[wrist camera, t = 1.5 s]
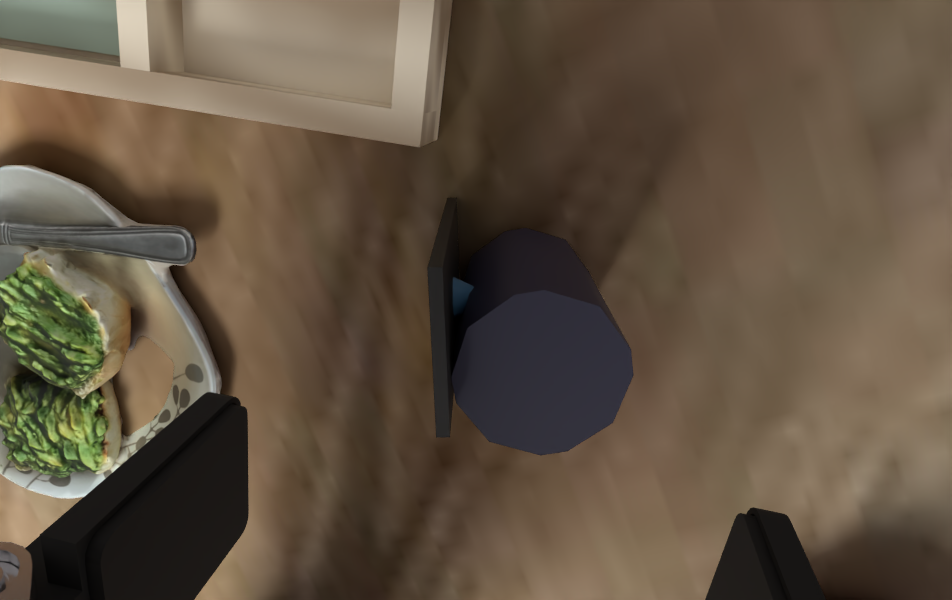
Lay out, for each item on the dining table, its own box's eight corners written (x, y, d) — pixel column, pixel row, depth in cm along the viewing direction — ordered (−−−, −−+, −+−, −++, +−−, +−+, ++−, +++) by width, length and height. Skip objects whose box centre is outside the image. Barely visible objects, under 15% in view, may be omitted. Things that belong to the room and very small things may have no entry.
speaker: (409, 313, 28) (357, 434, 18) (448, 194, 26) (414, 257, 16) (564, 365, 28) (594, 511, 19) (613, 252, 27) (676, 348, 17)
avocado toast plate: (116, 64, 27) (28, 61, 23) (316, 401, 31) (274, 453, 27) (-150, 235, 32) (-262, 259, 28) (52, 502, 37) (-18, 559, 32)
